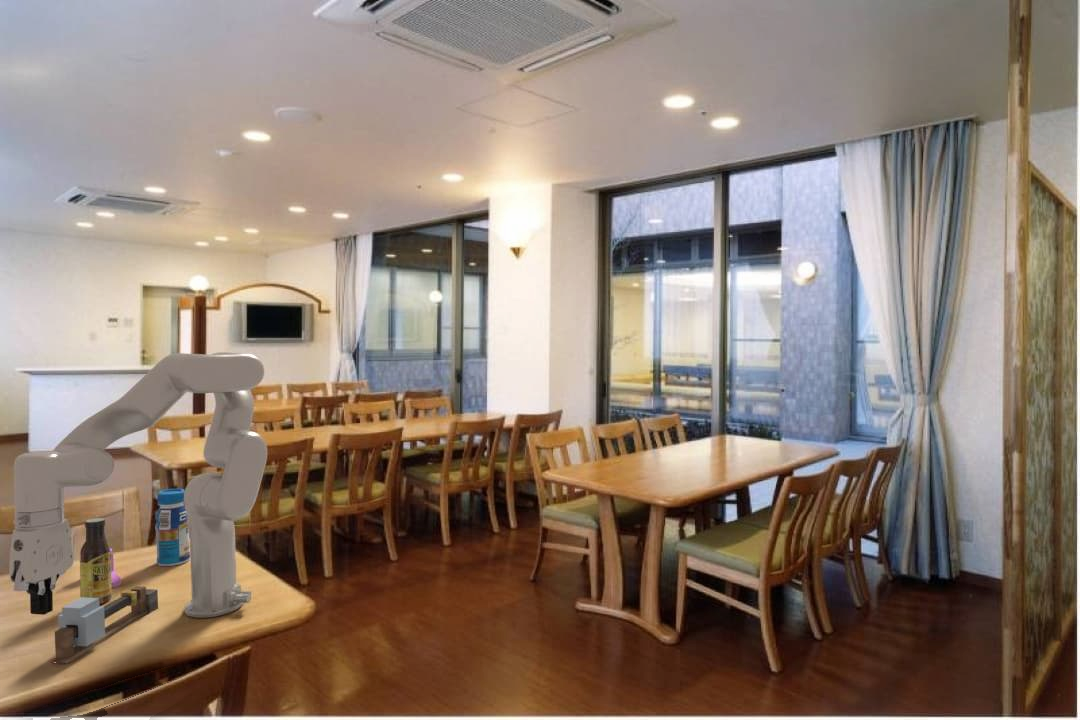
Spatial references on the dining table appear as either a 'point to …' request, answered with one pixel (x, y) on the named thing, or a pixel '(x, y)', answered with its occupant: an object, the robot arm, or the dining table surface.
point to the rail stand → (140, 606)
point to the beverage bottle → (172, 528)
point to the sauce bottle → (95, 562)
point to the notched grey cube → (84, 620)
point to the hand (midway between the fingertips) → (41, 612)
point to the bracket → (114, 574)
